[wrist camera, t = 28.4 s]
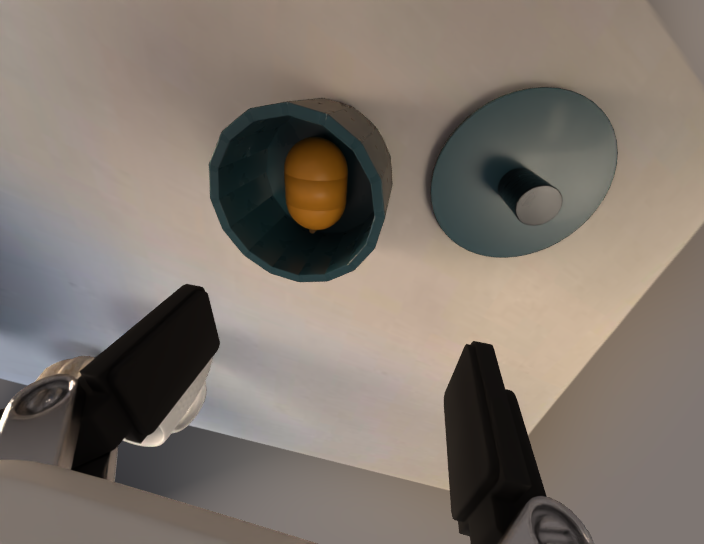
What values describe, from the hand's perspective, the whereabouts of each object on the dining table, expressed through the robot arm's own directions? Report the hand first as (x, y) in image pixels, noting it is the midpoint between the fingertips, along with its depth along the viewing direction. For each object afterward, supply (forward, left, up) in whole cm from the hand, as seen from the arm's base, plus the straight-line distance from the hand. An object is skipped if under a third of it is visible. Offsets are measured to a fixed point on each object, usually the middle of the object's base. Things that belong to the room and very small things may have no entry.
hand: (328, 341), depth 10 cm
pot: (+3, -5, -20) cm, 20 cm away
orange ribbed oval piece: (+3, -5, -19) cm, 20 cm away
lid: (-7, +8, -19) cm, 22 cm away
